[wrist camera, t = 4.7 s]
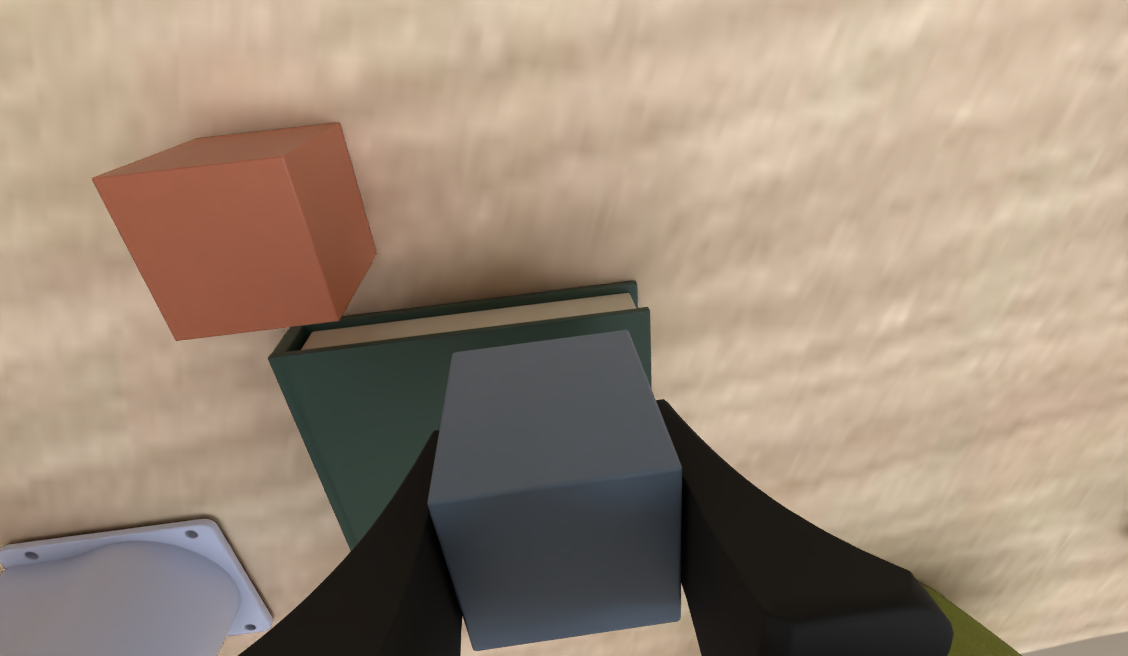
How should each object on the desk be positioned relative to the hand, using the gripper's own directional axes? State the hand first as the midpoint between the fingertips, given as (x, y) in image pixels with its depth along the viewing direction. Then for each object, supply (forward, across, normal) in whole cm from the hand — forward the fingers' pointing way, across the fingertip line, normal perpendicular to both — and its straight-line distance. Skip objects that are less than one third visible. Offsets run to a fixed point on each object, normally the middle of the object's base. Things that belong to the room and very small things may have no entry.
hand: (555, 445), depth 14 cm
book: (+8, +3, +7) cm, 11 cm away
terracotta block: (+8, +8, -5) cm, 12 cm away
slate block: (+1, 0, 0) cm, 1 cm away
